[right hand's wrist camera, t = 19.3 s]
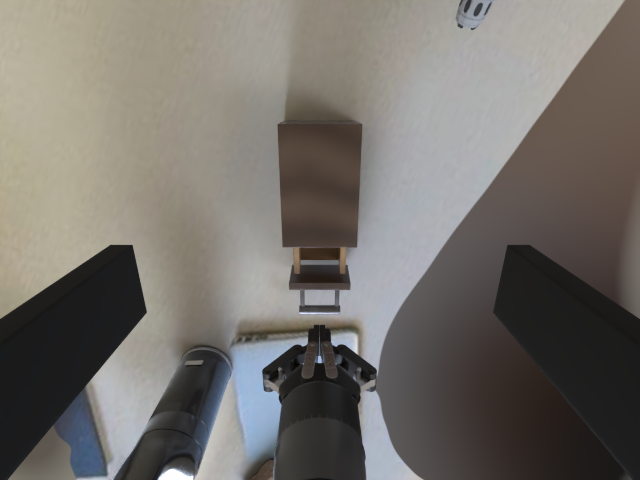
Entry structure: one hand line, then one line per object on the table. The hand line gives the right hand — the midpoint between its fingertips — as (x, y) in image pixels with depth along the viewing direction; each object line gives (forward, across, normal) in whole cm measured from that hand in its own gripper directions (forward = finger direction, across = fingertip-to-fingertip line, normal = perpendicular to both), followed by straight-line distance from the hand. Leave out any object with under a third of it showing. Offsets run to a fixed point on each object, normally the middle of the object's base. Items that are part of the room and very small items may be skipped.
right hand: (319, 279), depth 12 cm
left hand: (+27, 0, -22) cm, 35 cm away
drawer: (+40, 0, -15) cm, 42 cm away
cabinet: (+41, 0, -4) cm, 41 cm away
